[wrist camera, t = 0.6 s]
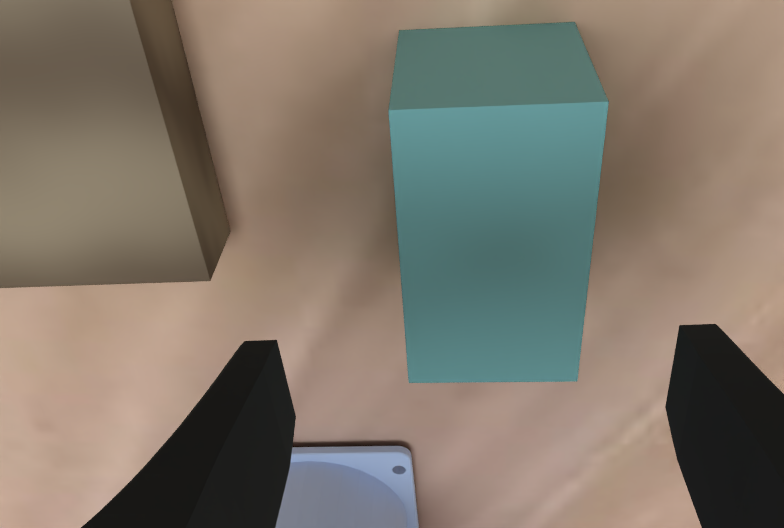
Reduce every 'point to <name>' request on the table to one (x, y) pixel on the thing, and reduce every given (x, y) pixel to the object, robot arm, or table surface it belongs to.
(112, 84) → the walnut base brick
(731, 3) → the table surface
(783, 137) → the table surface
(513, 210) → the teal brick
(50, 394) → the table surface
